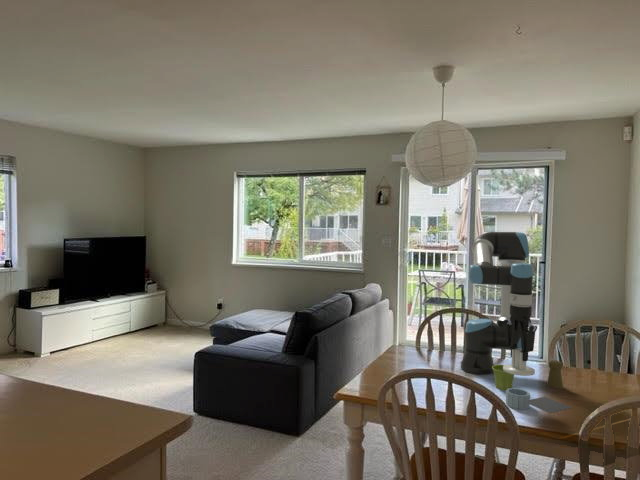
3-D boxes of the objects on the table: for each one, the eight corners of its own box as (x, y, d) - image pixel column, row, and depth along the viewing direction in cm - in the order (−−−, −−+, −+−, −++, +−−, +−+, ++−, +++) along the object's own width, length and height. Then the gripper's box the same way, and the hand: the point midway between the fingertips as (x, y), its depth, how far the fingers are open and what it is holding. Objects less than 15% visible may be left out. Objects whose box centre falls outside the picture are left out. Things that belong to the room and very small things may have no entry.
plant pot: (514, 394, 189) (515, 373, 189) (489, 390, 194) (490, 369, 194) (517, 387, 198) (517, 367, 197) (493, 383, 202) (494, 363, 202)
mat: (522, 402, 181) (522, 401, 181) (544, 397, 186) (544, 396, 186) (549, 414, 170) (550, 412, 170) (572, 408, 175) (572, 407, 175)
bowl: (501, 404, 179) (501, 390, 179) (516, 401, 182) (517, 387, 182) (518, 412, 172) (518, 397, 172) (534, 408, 175) (534, 394, 175)
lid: (496, 368, 179) (497, 347, 179) (517, 365, 184) (518, 344, 183) (520, 377, 169) (520, 355, 169) (541, 373, 174) (542, 352, 174)
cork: (564, 389, 195) (565, 363, 195) (549, 388, 197) (550, 362, 196) (560, 385, 201) (561, 359, 201) (545, 383, 203) (546, 358, 202)
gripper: (496, 302, 181) (494, 363, 182) (531, 309, 167) (529, 375, 167) (510, 301, 184) (509, 360, 185) (546, 308, 170) (544, 372, 171)
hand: (518, 367), depth 176 cm, fingers closed on lid, 3 cm apart
